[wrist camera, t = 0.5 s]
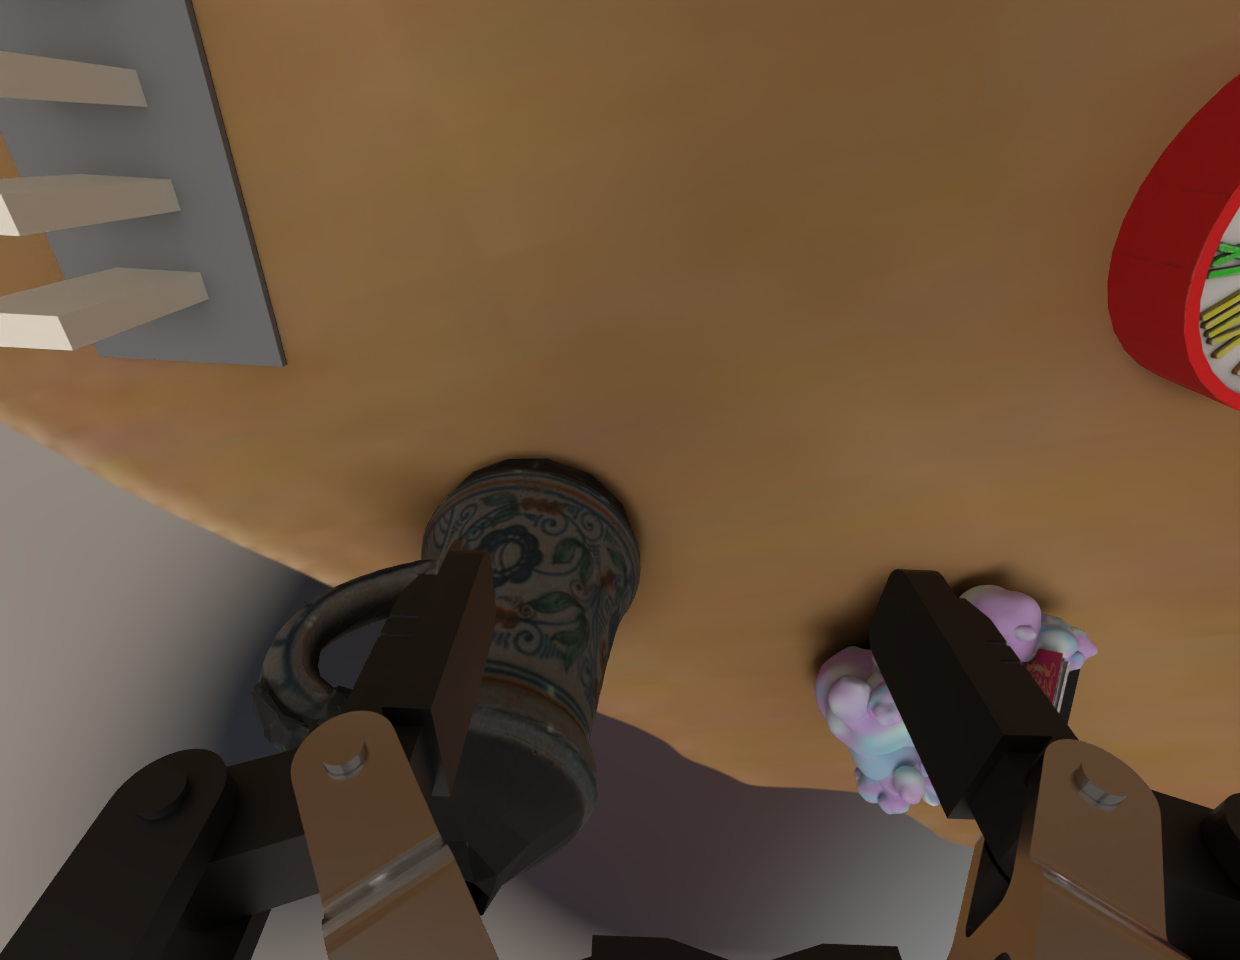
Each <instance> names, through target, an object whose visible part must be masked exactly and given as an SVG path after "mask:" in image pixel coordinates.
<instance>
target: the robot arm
mask: <svg viewBox="0 0 1240 960" xmlns="http://www.w3.org/2000/svg"><path fill="white" fill-rule="evenodd" d="M495 620H496V604H495V594H494V585H493V575H492V566H491V557H490V553H489V551H487V550H466V549H450V550H449V551H448V552H447V554H446V556H445V559H444V561H443V563H442V566H441V568H440V570H439V573H438V575H433V574H420V575H419V576H418V577H416V578H415V579H414V580H413V581H412V582H411V583H410V584H409V585H408V586H407V587H406V588H405V589H403V590H402V591H401V592H400V594H399V596H398V598H397V600H396V602H395V604H394V606H393V608H392V610H391V612H390V617H389V619H387V620H386V623H385V624H384V627H383V629H382V630H381V635H380V637H378V639H377V641H376V643H375V645H374V647H373V649H372V651H371V653H370V655H369V657H368V659H367V661H366V663H365V665H364V667H363V669H362V671H361V673H360V675H359V677H358V679H357V681H356V683H355V685H354V687H353V689H352V691H351V693H350V695H349V697H348V699H347V701H346V703H345V705H344V707H343V709H342V711H341V712H340V714H339V715H338V716H336V717H333V718H332V719H330V720H328V721H326V722H324V723H323V724H321V725H320V726H319V727H317V728H316V729H315V730H314V731H313V732H311V733H310V734H309V735H308V736H307V737H306V739H305V740H304V741H303V742H302V744H301V745H300V746H299V747H296V748H294V749H292V750H289V751H286V752H283V753H279V754H276V755H271V756H267V757H263V758H259V759H256V760H252V761H248V762H244V763H240V764H236V765H232V766H228V767H227V766H226V765H225V763H224V761H223V760H222V758H221V757H220V756H219V755H218V754H216V753H214V752H212V751H209V750H205V749H188V750H183V751H178V752H175V753H172V754H169V755H166V756H164V757H162V758H160V759H158V760H156V761H154V762H152V763H150V764H149V765H147V766H145V767H144V768H143V769H141V770H140V771H138V772H137V773H135V774H134V775H133V776H132V777H131V778H129V779H128V780H127V781H126V782H125V783H124V784H123V785H122V786H121V787H120V788H119V789H118V790H117V791H116V792H115V794H114V795H113V796H112V797H111V799H110V800H109V801H108V803H107V804H106V806H105V807H104V809H103V810H102V811H101V813H100V814H99V815H98V817H97V819H96V820H95V821H94V823H93V824H92V825H91V827H90V828H89V829H88V831H87V832H86V834H85V835H84V837H83V838H82V839H81V841H80V842H79V844H78V845H77V846H76V848H75V849H74V851H73V852H72V854H71V855H70V856H69V858H68V859H67V860H66V862H65V863H64V865H63V866H62V868H61V869H60V871H59V872H58V873H57V875H56V876H55V877H54V879H53V880H52V882H51V883H50V884H49V886H48V887H47V889H46V890H45V892H44V893H43V894H42V896H41V897H40V898H39V900H38V901H37V903H36V904H35V906H34V907H33V908H32V910H31V911H30V913H29V914H28V915H27V917H26V918H25V920H24V921H23V922H22V924H21V926H20V927H19V928H18V930H17V931H16V932H15V934H14V935H13V936H12V938H11V939H10V941H9V942H8V944H7V945H6V946H5V948H4V949H3V951H2V952H1V954H0V960H251V958H252V955H253V953H254V950H255V948H256V945H257V943H258V940H259V937H260V935H261V933H262V931H263V928H264V926H265V923H266V920H267V918H268V916H269V913H270V911H271V908H274V907H277V906H280V905H283V904H287V903H290V902H293V901H296V900H299V899H302V898H305V897H308V896H311V895H314V894H317V893H320V897H321V901H322V905H323V911H324V919H323V920H322V930H323V936H324V941H325V946H326V951H327V955H328V959H329V960H499V958H498V956H497V954H496V951H495V949H494V947H493V944H492V942H491V940H490V937H489V935H488V933H487V931H486V928H485V926H484V924H483V922H482V919H481V917H480V915H479V912H478V910H477V908H476V906H475V903H474V901H473V899H472V896H471V894H470V892H469V890H468V887H467V885H466V883H465V880H464V878H463V876H462V874H461V871H460V869H459V867H458V865H457V862H456V860H455V858H454V856H453V854H452V852H451V850H450V848H449V846H448V844H447V843H446V841H443V839H442V837H441V835H440V833H439V831H438V829H437V827H436V824H435V822H434V820H433V817H432V815H431V813H430V810H429V808H428V804H429V801H430V798H431V796H447V797H450V795H451V791H452V788H453V784H454V780H455V777H456V773H457V769H458V765H459V762H460V758H461V754H462V751H463V747H464V743H465V739H466V736H467V732H468V728H469V725H470V721H471V717H472V713H473V710H474V706H475V702H476V699H477V695H478V691H479V687H480V684H481V680H482V676H483V673H484V669H485V665H486V661H487V658H488V654H489V650H490V647H491V643H492V639H493V635H494V629H495ZM869 641H870V647H871V651H872V654H873V656H874V659H875V661H876V663H877V665H878V667H879V670H880V672H881V674H882V676H883V678H884V681H885V683H886V685H887V687H888V689H889V692H890V694H891V696H892V698H893V700H894V703H895V705H896V707H897V709H898V711H899V713H900V716H901V718H902V720H903V722H904V724H905V727H906V729H907V731H908V733H909V735H910V738H911V740H912V742H913V744H914V746H915V749H916V751H917V753H918V755H919V757H920V759H921V762H922V764H923V766H924V768H925V770H926V773H927V775H928V777H929V779H930V781H931V784H932V786H933V788H934V790H935V792H936V795H937V797H938V799H939V801H940V803H941V806H942V808H943V810H944V812H945V814H946V816H947V818H949V819H975V820H976V822H977V824H978V826H979V828H980V830H981V832H982V834H981V835H980V837H979V838H978V840H977V842H976V844H975V848H974V852H973V857H972V861H971V866H970V870H969V874H968V879H967V883H966V888H965V892H964V897H963V901H962V906H961V910H960V914H959V919H958V923H957V927H956V932H955V936H954V940H953V944H952V947H951V950H950V953H949V955H948V957H947V960H1240V793H1237V794H1233V795H1231V796H1229V797H1228V798H1227V799H1226V800H1224V801H1223V802H1222V803H1221V804H1220V805H1219V806H1218V807H1216V808H1215V809H1210V808H1207V807H1204V806H1201V805H1198V804H1195V803H1191V802H1188V801H1185V800H1182V799H1179V798H1176V797H1172V796H1169V795H1166V794H1163V793H1160V792H1157V791H1153V790H1151V789H1150V788H1149V787H1148V785H1147V784H1146V783H1145V782H1144V780H1143V779H1142V778H1141V777H1140V776H1139V775H1138V774H1137V773H1136V772H1135V771H1134V770H1133V769H1131V768H1130V767H1129V766H1128V765H1127V764H1125V763H1124V762H1123V761H1121V760H1120V759H1119V758H1117V757H1115V756H1114V755H1112V754H1111V753H1109V752H1107V751H1105V750H1103V749H1102V748H1099V747H1097V746H1095V745H1092V744H1089V743H1086V742H1083V741H1079V740H1078V739H1077V737H1076V736H1075V735H1074V733H1073V732H1072V730H1071V729H1070V728H1069V726H1068V725H1067V724H1066V722H1065V721H1064V719H1063V718H1062V717H1061V715H1060V714H1059V713H1058V711H1057V710H1056V708H1055V707H1054V706H1053V704H1052V703H1051V702H1050V700H1049V699H1048V697H1047V696H1046V695H1045V693H1044V692H1043V691H1042V689H1041V688H1040V686H1039V685H1038V684H1037V682H1036V681H1035V680H1034V678H1033V677H1032V675H1031V674H1030V673H1029V671H1028V670H1027V669H1026V667H1025V666H1024V665H1021V664H1020V661H1021V660H1020V659H1019V658H1018V656H1017V655H1016V653H1015V652H1014V651H1013V649H1012V648H1011V647H1010V646H1007V644H1006V642H1007V641H1006V640H1005V638H1004V637H1003V636H1002V634H1001V633H1000V631H999V630H998V629H997V627H996V626H995V625H994V623H993V622H992V620H991V619H990V618H989V617H988V616H986V615H985V614H984V613H983V612H981V611H980V610H979V609H978V608H976V607H975V606H974V605H973V604H972V603H970V602H969V601H968V600H967V599H965V598H957V596H956V595H955V593H954V592H953V591H952V589H951V588H950V586H949V585H948V583H947V582H946V580H945V579H944V577H943V576H942V575H941V574H940V573H939V572H937V571H929V570H905V569H896V570H894V571H893V572H892V573H891V574H890V576H889V578H888V581H887V583H886V586H885V588H884V591H883V593H882V596H881V598H880V601H879V603H878V606H877V608H876V611H875V614H874V616H873V619H872V621H871V624H870V630H869ZM582 960H728V959H724V958H722V957H719V956H716V955H714V954H711V953H708V952H705V951H703V950H700V949H697V948H694V947H691V946H689V945H686V944H683V943H680V942H678V941H675V940H672V939H669V938H656V937H629V936H601V935H593V939H592V956H591V957H588V958H585V959H582ZM773 960H902V959H901V956H900V953H899V950H898V947H897V946H871V945H870V946H868V945H844V944H821V945H817V946H814V947H811V948H808V949H805V950H802V951H798V952H795V953H792V954H789V955H786V956H783V957H780V958H776V959H773Z"/></svg>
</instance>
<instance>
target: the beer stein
mask: <svg viewBox="0 0 1240 960" xmlns="http://www.w3.org/2000/svg"><path fill="white" fill-rule="evenodd" d="M450 549H466V550H487V551H489V553H490V557H491V566H492V575H493V585H494V594H495V604H496V620H495V629H494V635H493V639H492V643H491V647H490V650H489V654H488V658H487V661H486V665H485V669H484V673H483V676H482V680H481V684H480V687H479V691H478V695H477V699H476V702H475V706H474V710H473V713H472V717H471V721H470V725H469V728H468V732H467V736H466V739H465V743H464V747H463V751H462V754H461V758H460V762H459V765H458V769H457V773H456V777H455V780H454V784H453V788H452V791H451V795H450V797H447V796H431V798H430V801H429V804H428V808H429V810H430V813H431V815H432V817H433V820H434V822H435V824H436V827H437V829H438V831H439V833H440V835H441V837H442V839H443V841H446V843H447V844H448V846H449V848H450V850H451V852H452V854H453V856H454V858H455V860H456V862H457V865H458V867H459V869H460V871H461V874H462V876H463V878H464V880H465V883H466V885H467V887H468V890H469V892H470V894H471V896H472V899H473V901H474V903H475V906H476V908H477V910H478V912H479V915H480V916H481V915H483V914H484V912H485V911H486V909H487V908H488V906H489V905H490V903H491V901H492V900H493V898H494V897H495V895H496V894H497V892H498V891H499V889H500V888H501V886H502V885H503V884H505V883H506V882H508V881H510V880H511V879H513V878H514V877H516V876H518V875H519V874H521V873H523V872H525V871H527V870H529V869H530V868H532V867H534V866H536V865H538V864H540V863H542V862H544V861H545V860H547V859H549V858H550V857H551V856H553V855H554V854H555V853H557V852H558V851H559V850H561V849H562V848H564V847H565V846H566V845H567V844H568V843H569V842H570V841H571V840H572V839H573V838H574V837H575V836H576V834H577V833H578V832H579V831H580V830H581V828H582V827H583V825H584V824H585V822H586V821H587V820H588V818H589V817H590V815H591V813H592V811H593V809H594V807H595V804H596V801H597V798H598V779H597V774H596V765H595V761H594V756H593V752H592V748H591V746H590V744H589V740H590V736H591V731H592V727H593V723H594V719H595V715H596V710H597V705H598V701H599V696H600V692H601V688H602V684H603V679H604V674H605V670H606V666H607V662H608V659H609V655H610V651H611V648H612V644H613V641H614V637H615V634H616V631H617V628H618V626H619V623H620V621H621V619H622V617H623V616H624V614H625V613H626V612H627V610H628V609H629V607H630V605H631V603H632V601H633V599H634V597H635V594H636V591H637V588H638V584H639V577H640V554H639V549H638V545H637V542H636V539H635V537H634V535H633V533H632V530H631V527H630V524H629V521H628V518H627V515H626V513H625V510H624V507H623V505H622V504H621V503H620V502H619V501H618V500H617V499H616V498H615V497H614V496H613V495H612V494H611V493H610V492H609V491H608V490H607V489H606V488H605V487H604V486H603V485H602V484H601V483H600V482H599V481H598V480H597V479H596V478H595V477H594V476H592V475H591V474H589V473H586V472H583V471H580V470H577V469H575V468H572V467H569V466H566V465H563V464H560V463H558V462H555V461H552V460H549V459H508V460H505V461H503V462H500V463H497V464H494V465H491V466H489V467H486V468H483V469H480V470H478V471H475V472H473V473H472V474H471V475H469V476H468V477H467V478H466V479H465V480H464V481H463V482H462V483H461V484H460V485H459V486H458V487H457V488H456V489H455V490H454V491H453V492H452V493H451V494H449V495H448V496H447V497H446V498H445V499H444V500H443V501H442V502H441V504H440V505H439V506H438V507H437V509H436V510H435V512H434V514H433V515H432V517H431V519H430V521H429V523H428V525H427V527H426V530H425V534H424V537H423V543H422V552H421V559H422V560H419V561H415V562H411V563H406V564H401V565H397V566H393V567H389V568H385V569H381V570H378V571H376V572H373V573H370V574H367V575H363V576H360V577H358V578H355V579H353V580H350V581H348V582H345V583H343V584H340V585H338V586H336V587H334V588H332V589H330V590H329V591H327V592H325V593H323V594H321V595H320V596H318V597H317V598H315V599H314V600H312V601H311V602H309V603H308V604H306V605H305V606H304V607H303V608H302V609H300V610H299V611H298V612H297V613H296V614H295V615H294V616H293V617H292V618H291V619H290V620H289V621H288V622H287V623H286V624H285V625H284V627H283V628H282V629H281V630H280V632H279V633H278V634H277V635H276V637H275V638H274V641H273V643H272V645H271V647H270V649H269V651H268V653H267V655H266V658H265V661H264V663H263V667H262V671H261V676H260V681H259V683H257V684H255V685H254V686H253V688H252V691H251V696H252V699H253V706H252V709H253V711H254V713H255V715H256V716H257V718H258V720H259V722H260V723H261V724H262V727H263V729H264V734H265V737H266V738H267V739H268V740H269V742H270V743H271V744H272V745H274V746H275V747H277V748H278V749H279V750H281V751H283V752H286V751H289V750H292V749H294V748H296V747H299V746H300V745H301V744H302V742H303V741H304V740H305V739H306V737H307V736H308V735H309V734H310V733H311V732H313V731H314V730H315V729H316V728H317V727H319V726H320V725H321V724H323V723H324V722H326V721H328V720H330V719H332V718H333V717H336V716H338V715H339V714H340V712H341V711H342V709H343V707H344V705H345V703H346V701H347V699H348V697H349V695H350V693H351V691H352V690H351V689H348V688H345V687H342V686H338V687H335V688H333V687H332V686H331V685H330V684H329V683H327V682H326V681H325V680H324V679H323V678H322V677H320V673H319V669H318V661H319V656H320V652H321V651H322V650H323V649H324V648H326V647H327V646H329V645H330V644H331V643H333V642H334V641H336V640H338V639H339V638H341V637H342V636H344V635H346V634H348V633H350V632H352V631H354V630H357V629H359V628H361V627H364V626H366V625H369V624H371V623H373V622H376V621H379V620H383V619H386V618H389V617H390V612H391V610H392V608H393V606H394V604H395V602H396V600H397V598H398V596H399V594H400V592H401V591H402V590H403V589H405V588H406V587H407V586H408V585H409V584H410V583H411V582H412V581H413V580H414V579H415V578H416V577H418V576H419V575H420V574H433V575H438V573H439V570H440V568H441V566H442V563H443V561H444V559H445V556H446V554H447V552H448V551H449V550H450Z"/></svg>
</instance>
